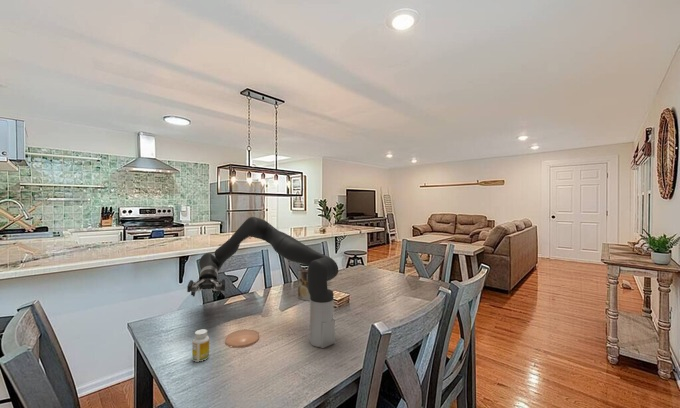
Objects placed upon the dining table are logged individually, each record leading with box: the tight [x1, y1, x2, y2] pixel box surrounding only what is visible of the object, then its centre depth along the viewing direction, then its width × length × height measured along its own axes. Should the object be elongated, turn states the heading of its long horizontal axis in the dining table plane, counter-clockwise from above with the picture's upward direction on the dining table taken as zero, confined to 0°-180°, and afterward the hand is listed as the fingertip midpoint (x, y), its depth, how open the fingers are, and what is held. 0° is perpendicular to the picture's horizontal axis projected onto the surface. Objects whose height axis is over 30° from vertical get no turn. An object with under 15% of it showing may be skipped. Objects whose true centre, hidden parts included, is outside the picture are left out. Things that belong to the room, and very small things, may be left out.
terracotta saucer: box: [224, 328, 260, 348], centre depth 120 cm, size 13×13×1 cm
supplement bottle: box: [191, 328, 210, 363], centre depth 106 cm, size 5×5×10 cm
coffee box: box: [297, 268, 310, 302], centre depth 169 cm, size 9×6×16 cm
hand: (205, 293), depth 118 cm, fingers open, 8 cm apart
